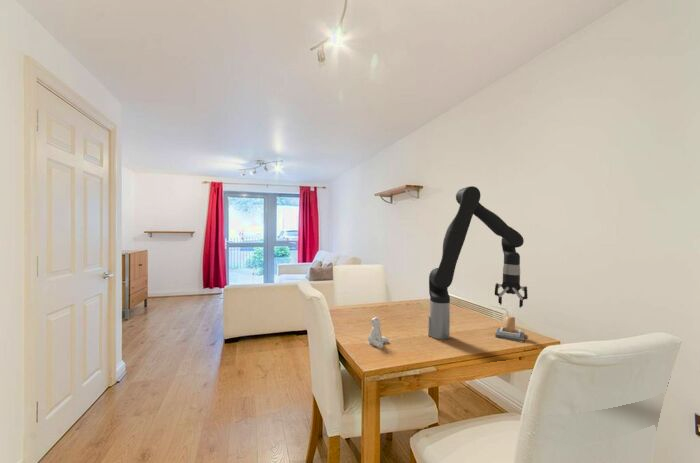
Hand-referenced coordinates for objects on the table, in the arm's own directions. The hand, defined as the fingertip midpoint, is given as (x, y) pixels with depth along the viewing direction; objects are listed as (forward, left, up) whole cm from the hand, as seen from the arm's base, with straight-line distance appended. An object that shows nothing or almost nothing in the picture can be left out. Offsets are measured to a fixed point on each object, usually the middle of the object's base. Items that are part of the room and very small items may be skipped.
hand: (510, 305), depth 146 cm
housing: (0, 0, -15) cm, 15 cm away
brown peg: (0, 0, -14) cm, 14 cm away
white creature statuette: (-50, -47, -15) cm, 70 cm away
